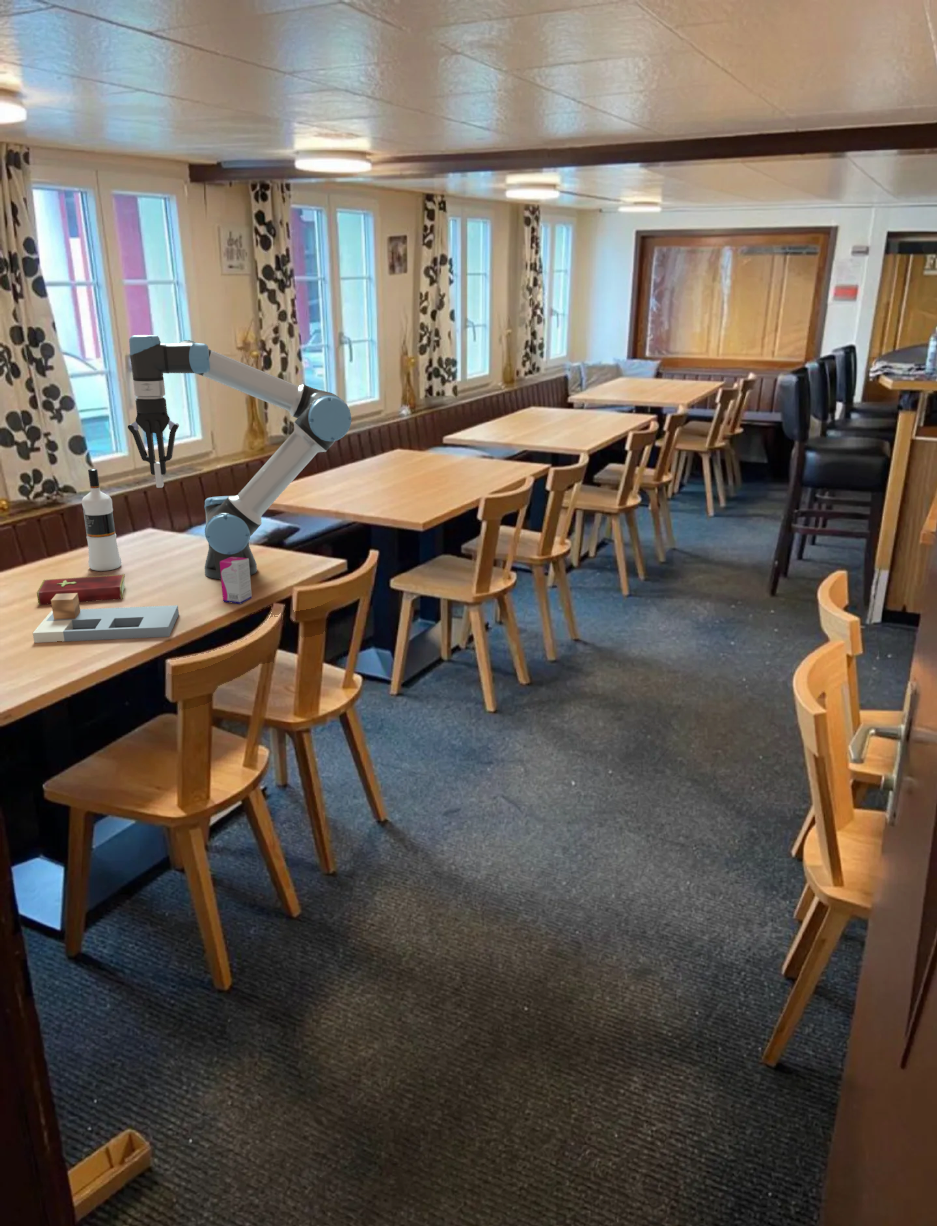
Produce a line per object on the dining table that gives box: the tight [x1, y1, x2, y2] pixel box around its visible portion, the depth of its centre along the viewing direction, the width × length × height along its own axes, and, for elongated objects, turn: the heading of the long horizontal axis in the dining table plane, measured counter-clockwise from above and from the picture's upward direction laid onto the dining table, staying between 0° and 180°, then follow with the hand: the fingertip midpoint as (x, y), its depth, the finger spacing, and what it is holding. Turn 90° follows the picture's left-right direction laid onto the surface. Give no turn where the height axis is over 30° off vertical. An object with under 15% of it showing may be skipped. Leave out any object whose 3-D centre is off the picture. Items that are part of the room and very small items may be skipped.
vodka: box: [81, 468, 123, 572], centre depth 260 cm, size 9×9×30 cm
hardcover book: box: [36, 573, 125, 606], centre depth 240 cm, size 12×21×4 cm, turn 106°
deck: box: [32, 604, 180, 644], centre depth 217 cm, size 31×16×2 cm, turn 99°
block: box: [50, 593, 81, 619], centre depth 217 cm, size 5×5×5 cm
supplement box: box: [220, 557, 253, 605], centre depth 236 cm, size 6×6×12 cm
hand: (160, 486), depth 236 cm, fingers closed
